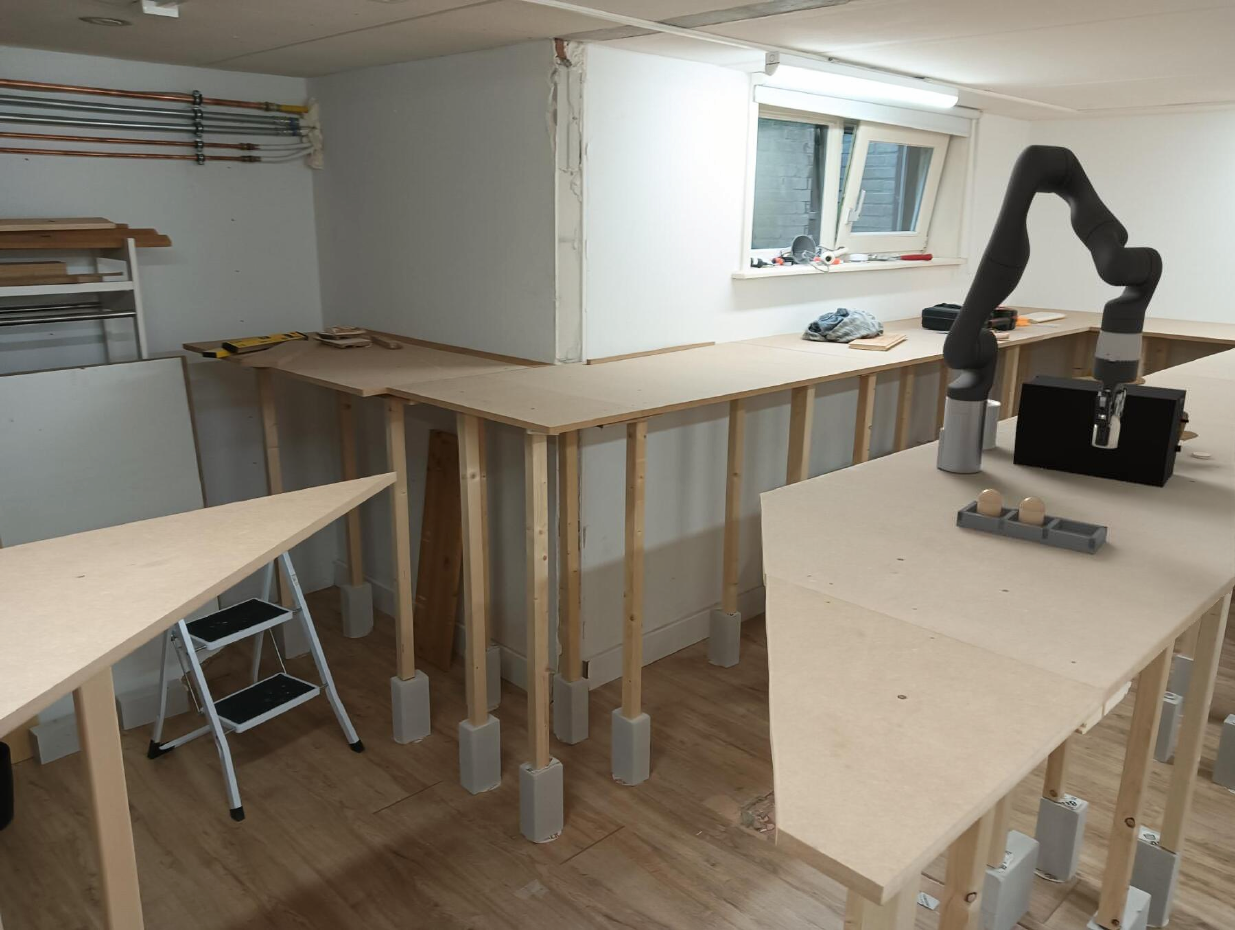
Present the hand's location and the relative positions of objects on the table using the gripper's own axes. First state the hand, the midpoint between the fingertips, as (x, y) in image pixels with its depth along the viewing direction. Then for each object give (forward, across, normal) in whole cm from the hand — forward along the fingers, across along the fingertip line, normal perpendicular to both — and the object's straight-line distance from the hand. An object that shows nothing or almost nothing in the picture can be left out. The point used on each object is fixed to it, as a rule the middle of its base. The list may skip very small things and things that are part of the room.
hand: (1104, 442), depth 183 cm
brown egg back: (+15, +14, -16) cm, 26 cm away
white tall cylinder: (+17, -47, -40) cm, 64 cm away
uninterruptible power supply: (+17, -42, -10) cm, 46 cm away
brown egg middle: (+15, +14, -8) cm, 22 cm away
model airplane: (+17, -67, -10) cm, 70 cm away
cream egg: (+1, 0, 0) cm, 1 cm away
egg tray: (+16, +14, -8) cm, 23 cm away
